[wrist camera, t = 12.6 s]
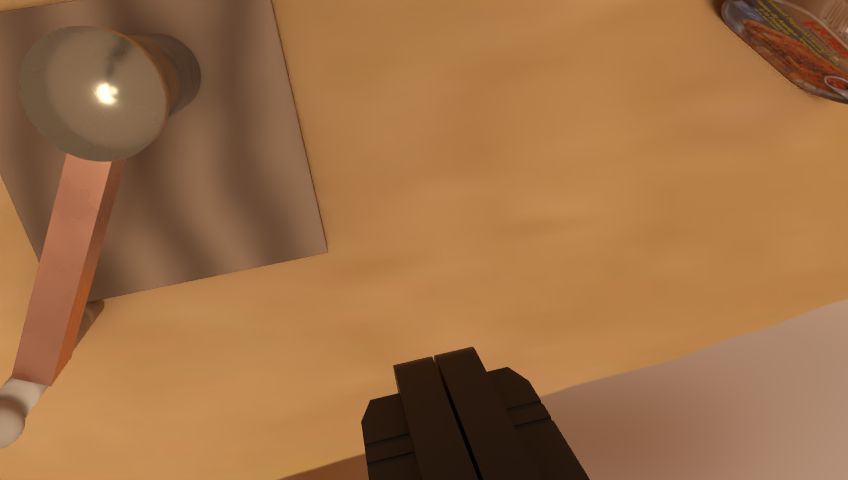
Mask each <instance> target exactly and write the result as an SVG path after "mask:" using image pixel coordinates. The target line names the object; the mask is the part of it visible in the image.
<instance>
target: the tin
mask: <svg viewBox="0 0 848 480" xmlns="http://www.w3.org/2000/svg"><path fill="white" fill-rule="evenodd" d="M721 15H722V18H723V20H724V22H725V23H726V24H727V26H728V27H729V28H730V29H731V30H732V31H733V32H734V33H735V34H737V35H738V36H739V37H740V38H741V39H742V40H744V41H745V42H746V43H747V44H748V45H749V46H750V47H752V48H753V49H754V50H755V51H756V52H758V53H759V54H760V55H761V56H762V57H763V58H765V59H766V60H767V61H768V62H769V63H770V64H771V65H772V66H774V67H775V68H776V69H777V70H778V71H779V72H781V73H782V74H783V75H784V76H785V77H786V78H788V79H789V80H790V81H791V82H793V83H794V84H796V85H798V86H799V87H801V88H803V89H805V90H806V91H808V92H810V93H813V94H815V95H817V96H820V97H823V98H825V99H829V100H832V101H835V102H839V103H844V104H848V0H725V1H724V3H723V4H722V6H721Z"/></svg>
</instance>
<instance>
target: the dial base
mask: <svg viewBox="0 0 848 480" xmlns="http://www.w3.org/2000/svg"><path fill="white" fill-rule="evenodd" d="M70 26H99V27H104V28H108V29H111V30H114V31H117V32H119V33H122V34H124V35H133V34H148V33H161V34H166V35H169V36H172V37H174V38H176V39H178V40H179V41H181V42H182V43H184V44H185V45H186V46H187V47H188V48H189V49H190V50H191V51H192V53H193V54H194V56H195V57H196V59H197V61H198V64H199V67H200V71H201V84H200V88H199V91H198V93H197V95H196V97H195V98H194V99H193V101H191V102H190V103H189V104H188V105H187V106H185V107H184V108H182V109H181V110H179V111H178V112H177V113H175V114H174V115H172V116H171V117H169V118H168V119H167V120H166V123H165V126H164V127H163V129H162V131H161V133H160V134H159V135H158V136H157V138H156V139H155V140H154V141H153V142H152V143H151V144H149V145H148V146H147V147H146V148H144V149H143V150H141V151H140V152H139V153H137V154H135V155H133V156H131V157H128V158H126V162H125V165H124V169H123V172H122V176H121V180H120V183H119V187H118V190H117V194H116V198H115V201H114V205H113V208H112V212H111V216H110V219H109V223H108V226H107V230H106V234H105V237H104V241H103V245H102V248H101V252H100V255H99V259H98V263H97V266H96V270H95V273H94V277H93V281H92V284H91V288H90V291H89V295H88V299H87V302H86V306H85V309H84V313H83V317H82V320H81V324H80V327H79V331H78V335H77V338H76V342H75V345H74V349H75V348H76V346H77V345H78V343H79V342H80V341H81V339H82V338H83V336H84V335H85V334H86V332H87V331H88V329H89V328H90V327H91V325H92V324H93V322H94V321H95V320H96V318H97V317H98V315H99V314H100V313H101V311H102V310H103V308H104V302H103V299H106V298H111V297H116V296H120V295H125V294H130V293H135V292H140V291H145V290H149V289H154V288H159V287H164V286H169V285H174V284H179V283H183V282H188V281H193V280H198V279H203V278H208V277H212V276H217V275H222V274H227V273H232V272H237V271H242V270H246V269H251V268H256V267H261V266H266V265H271V264H275V263H280V262H285V261H290V260H295V259H300V258H305V257H309V256H314V255H319V254H324V253H328V249H327V243H326V238H325V234H324V229H323V225H322V221H321V216H320V212H319V207H318V203H317V198H316V194H315V190H314V185H313V181H312V176H311V172H310V168H309V163H308V159H307V154H306V150H305V146H304V141H303V137H302V132H301V128H300V124H299V119H298V115H297V110H296V106H295V102H294V97H293V93H292V88H291V84H290V80H289V75H288V71H287V66H286V62H285V57H284V53H283V49H282V44H281V40H280V35H279V31H278V27H277V22H276V18H275V13H274V9H273V5H272V0H78V1H71V2H64V3H57V4H50V5H43V6H36V7H30V8H23V9H16V10H9V11H2V12H0V175H1V177H2V179H3V181H4V184H5V186H6V188H7V190H8V193H9V195H10V197H11V200H12V202H13V204H14V206H15V209H16V211H17V213H18V215H19V218H20V220H21V222H22V225H23V227H24V229H25V231H26V234H27V236H28V238H29V240H30V243H31V245H32V247H33V250H34V252H35V254H36V256H37V259H38V261H39V263H40V259H41V255H42V251H43V247H44V243H45V239H46V235H47V231H48V227H49V223H50V219H51V215H52V211H53V207H54V203H55V199H56V195H57V191H58V187H59V183H60V179H61V175H62V171H63V167H64V163H65V159H66V155H67V153H66V152H64V151H62V150H60V149H59V148H57V147H56V146H54V145H53V144H51V143H50V142H49V141H48V140H46V139H45V138H44V137H43V136H42V135H41V134H40V133H39V132H38V131H37V129H36V128H35V127H34V125H33V124H32V123H31V121H30V119H29V118H28V116H27V114H26V112H25V110H24V108H23V105H22V102H21V98H20V93H19V72H20V68H21V64H22V61H23V59H24V57H25V55H26V53H27V52H28V51H29V49H30V48H31V46H32V45H33V44H34V43H35V42H36V41H37V40H39V39H40V38H41V37H43V36H44V35H46V34H48V33H50V32H52V31H54V30H57V29H60V28H64V27H70ZM74 349H73V350H74ZM11 376H12V375H11ZM47 387H48V386H47V385H42V384H37V383H33V382H28V381H23V380H18V379H14V378H11V377H10V378H9V379H8V380H7V381H6V382H5V384H4V385H3V386H2V387H1V388H0V449H2V448H5V447H7V446H9V445H10V444H12V443H13V442H14V441H16V440H17V439H18V437H19V436H20V435H21V433H22V431H23V429H24V426H25V418H26V416H27V415H28V414H29V412H30V411H31V409H32V408H33V407H34V405H35V404H36V402H37V401H38V400H39V398H40V397H41V395H42V394H43V393H44V391H45V390H46V388H47Z"/></svg>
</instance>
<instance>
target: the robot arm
mask: <svg viewBox="0 0 848 480" xmlns="http://www.w3.org/2000/svg"><path fill="white" fill-rule="evenodd" d="M434 362H435V363H434ZM393 368H394V373H395V379H396V384H397V389H398V394H393V395H389V396H385V397H381V398H377V399H373V400H370V402H369V405H368V407H367V409H366V412H365V414H364V416H363V419H362V421H361V424H362V431H363V438H364V445H365V453H366V461H367V466H368V475H369V480H590V479H589V478H588V476H587V474H586V473H585V471H584V469H583V468H582V466H581V465H580V463H579V461H578V460H577V458H576V456H575V455H574V453H573V452H572V450H571V448H570V447H569V445H568V444H567V442H566V440H565V439H564V437H563V436H562V434H561V432H560V431H559V429H558V428H557V426H556V424H555V423H554V421H552V420H551V416H550V415H549V413H548V411H547V410H546V408H545V406H544V405H543V404H542V403H541V400H540V398H539V397H538V395H537V393H536V392H535V390H534V389H533V387H532V385H531V384H530V382H529V381H528V380H527V379H525V378H524V377H522V376H521V375H519V374H518V373H516V372H515V371H513V370H511V369H510V368H508V367H505V368H501V369H497V370H493V371H488V372H486V370H485V368H484V366H483V364H482V362H481V360H480V358H479V356H478V354H477V352H476V350H475V349H474V347H469V348H465V349H460V350H456V351H452V352H448V353H443V354H439V355H435V356H434V360H433V358H432V356H431V357H427V358H423V359H418V360H414V361H410V362H406V363H401V364H397V365H393Z"/></svg>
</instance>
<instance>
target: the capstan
mask: <svg viewBox="0 0 848 480" xmlns="http://www.w3.org/2000/svg"><path fill="white" fill-rule="evenodd" d="M200 84H201V71H200V67H199V64H198V61H197V59H196V57H195V56H194V54H193V53H192V51H191V50H190V49H189V48H188V47H187V46H186V45H185V44H184V43H182V42H181V41H179V40H178V39H176V38H174V37H172V36H169V35H166V34H161V33H148V34H133V35H124V34H122V33H119V32H117V31H114V30H111V29H108V28H104V27H99V26H70V27H64V28H60V29H57V30H54V31H52V32H50V33H48V34H46V35H44V36H43V37H41V38H40V39H39V40H37V41H36V42H35V43H34V44H33V45H32V46H31V48H30V49H29V51H28V52H27V53H26V55H25V57H24V59H23V61H22V64H21V68H20V72H19V93H20V98H21V102H22V105H23V108H24V110H25V112H26V114H27V116H28V118H29V119H30V121H31V123H32V124H33V125H34V127H35V128H36V129H37V131H38V132H39V133H40V134H41V135H42V136H43V137H44V138H45V139H46V140H48V141H49V142H50V143H51V144H53V145H54V146H56V147H57V148H59V149H60V150H62V151H64V152H66V153H67V155H66V159H65V163H64V167H63V171H62V175H61V179H60V183H59V187H58V191H57V195H56V199H55V203H54V207H53V211H52V215H51V219H50V223H49V227H48V231H47V235H46V239H45V243H44V247H43V251H42V255H41V259H40V263H39V267H38V271H37V276H36V280H35V284H34V288H33V292H32V296H31V300H30V304H29V308H28V312H27V316H26V320H25V324H24V328H23V332H22V336H21V340H20V344H19V348H18V352H17V356H16V360H15V364H14V368H13V372H12V376H11V378H14V379H18V380H23V381H28V382H33V383H37V384H42V385H47V386H51V385H52V384H53V383H54V381H55V380H56V378H57V377H58V376H59V374H60V373H61V371H62V370H63V368H64V367H65V366H66V364H67V363H68V361H69V360H70V359H71V356H72V353H73V349H74V345H75V342H76V338H77V335H78V331H79V327H80V324H81V320H82V317H83V313H84V309H85V306H86V302H87V299H88V295H89V291H90V288H91V284H92V281H93V277H94V273H95V270H96V266H97V263H98V259H99V255H100V252H101V248H102V245H103V241H104V237H105V234H106V230H107V226H108V223H109V219H110V216H111V212H112V208H113V205H114V201H115V198H116V194H117V190H118V187H119V183H120V180H121V176H122V172H123V169H124V165H125V162H126V158H128V157H131V156H133V155H135V154H137V153H139V152H140V151H141V150H143V149H144V148H146V147H147V146H148V145H149V144H151V143H152V142H153V141H154V140H155V139H156V138H157V136H158V135H159V134H160V133H161V131H162V129H163V127H164V126H165V123H166V120H167V119H168V118H169V117H171V116H172V115H174V114H175V113H177V112H178V111H179V110H181V109H182V108H184V107H185V106H187V105H188V104H189V103H190V102H191V101H193V99H194V98H195V97H196V95H197V93H198V91H199V88H200Z"/></svg>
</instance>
